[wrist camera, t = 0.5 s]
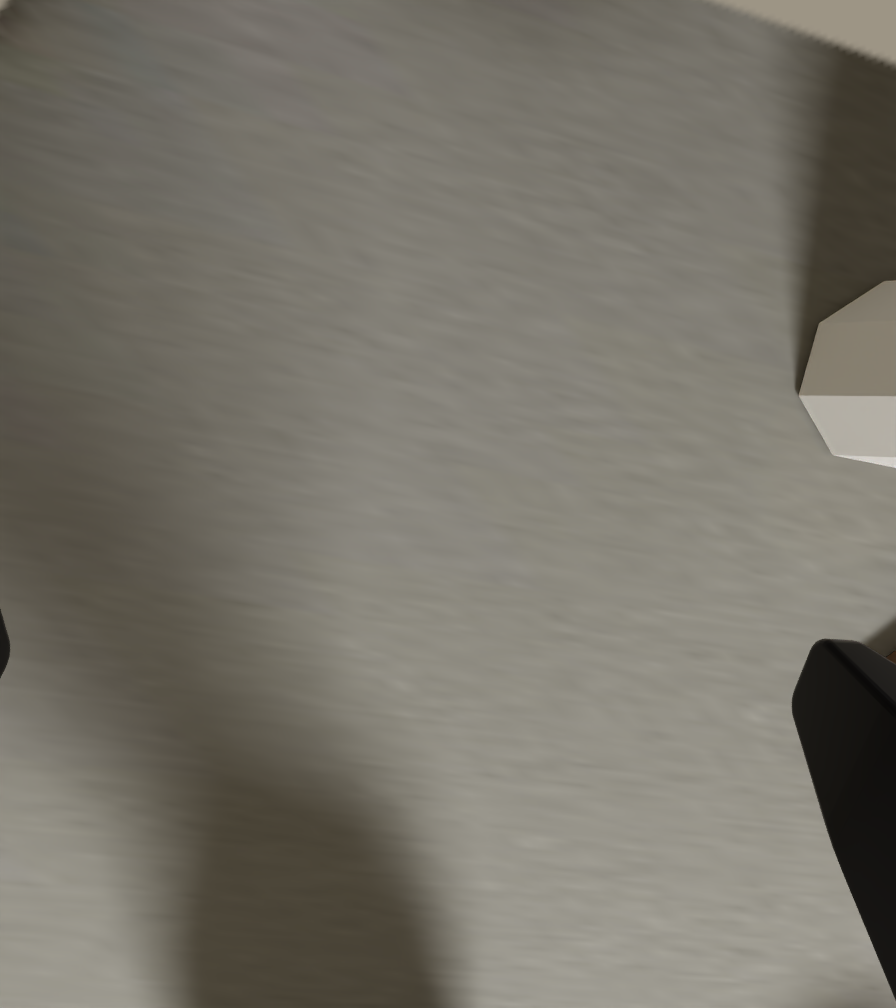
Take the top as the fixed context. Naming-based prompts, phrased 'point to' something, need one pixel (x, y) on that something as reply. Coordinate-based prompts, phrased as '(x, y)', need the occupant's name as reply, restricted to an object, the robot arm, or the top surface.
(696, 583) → the top surface
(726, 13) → the top surface
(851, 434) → the pepper shaker
